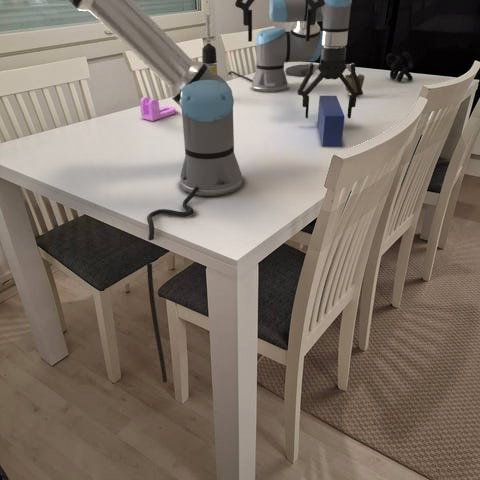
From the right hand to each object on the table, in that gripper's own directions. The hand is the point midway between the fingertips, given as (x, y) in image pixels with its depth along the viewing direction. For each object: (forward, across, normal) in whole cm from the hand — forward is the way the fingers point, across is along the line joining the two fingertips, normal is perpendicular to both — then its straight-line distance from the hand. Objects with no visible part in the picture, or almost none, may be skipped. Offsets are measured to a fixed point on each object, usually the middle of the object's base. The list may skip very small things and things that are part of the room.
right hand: (327, 117), depth 145 cm
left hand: (-27, +16, +30) cm, 44 cm away
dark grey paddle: (+3, +3, -86) cm, 87 cm away
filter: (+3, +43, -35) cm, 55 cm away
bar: (+3, 0, +7) cm, 8 cm away
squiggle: (+3, -38, -68) cm, 78 cm away
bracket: (+3, +58, -11) cm, 59 cm away
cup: (+3, -13, -39) cm, 41 cm away
